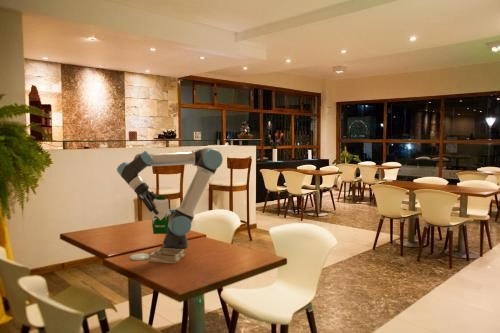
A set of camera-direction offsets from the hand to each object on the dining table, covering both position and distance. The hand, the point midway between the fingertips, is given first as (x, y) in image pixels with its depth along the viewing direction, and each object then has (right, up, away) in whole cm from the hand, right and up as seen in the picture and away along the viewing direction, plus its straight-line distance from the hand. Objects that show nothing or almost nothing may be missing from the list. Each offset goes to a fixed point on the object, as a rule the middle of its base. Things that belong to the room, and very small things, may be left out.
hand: (165, 216), depth 210 cm
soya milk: (-3, -9, +1) cm, 10 cm away
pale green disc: (-15, -23, +3) cm, 27 cm away
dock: (0, -23, +2) cm, 23 cm away
